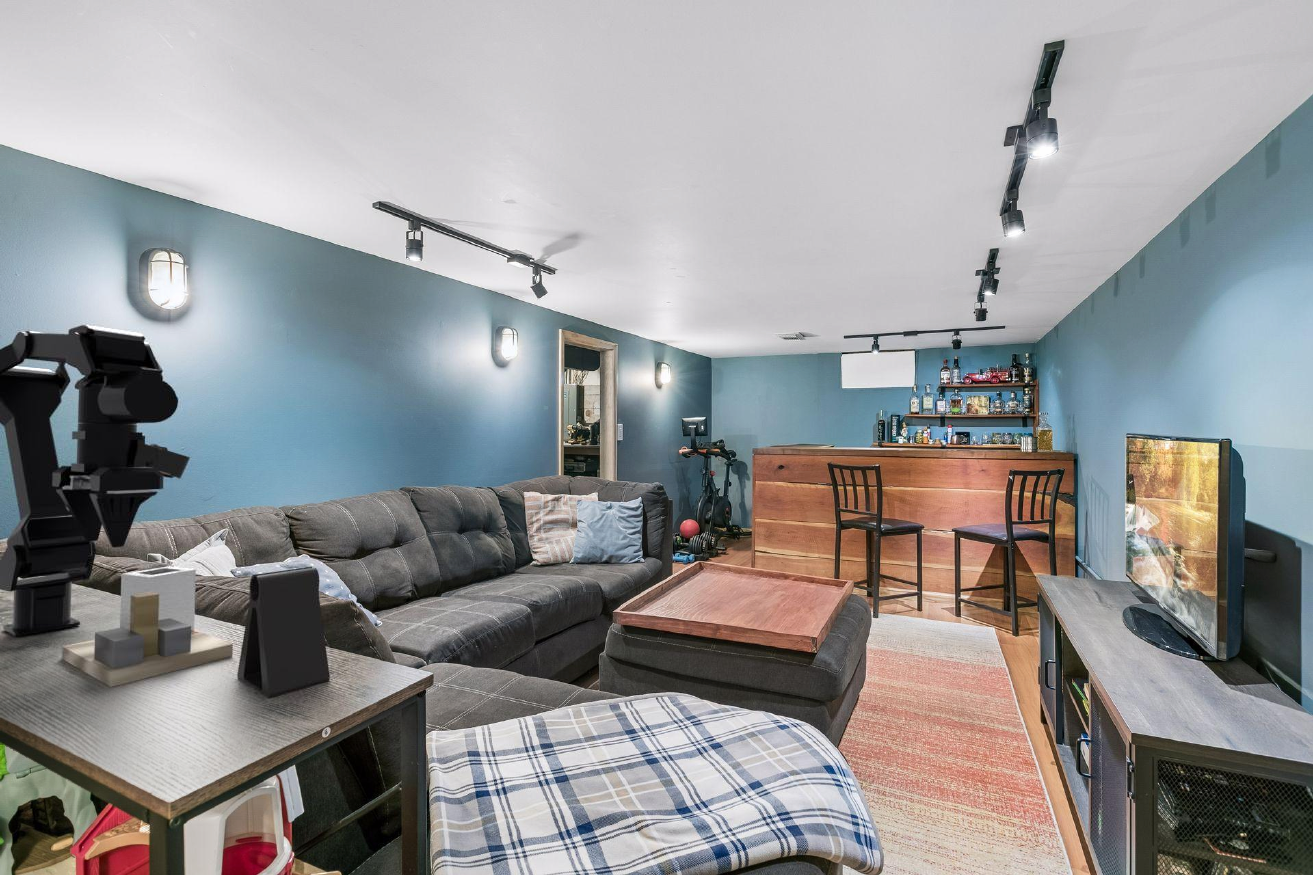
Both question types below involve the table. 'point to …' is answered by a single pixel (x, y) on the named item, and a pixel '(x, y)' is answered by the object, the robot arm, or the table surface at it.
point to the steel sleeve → (162, 593)
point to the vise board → (151, 663)
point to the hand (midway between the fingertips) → (104, 543)
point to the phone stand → (284, 633)
